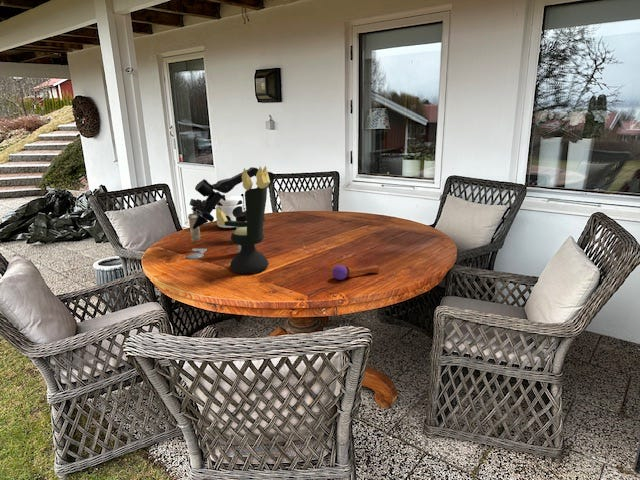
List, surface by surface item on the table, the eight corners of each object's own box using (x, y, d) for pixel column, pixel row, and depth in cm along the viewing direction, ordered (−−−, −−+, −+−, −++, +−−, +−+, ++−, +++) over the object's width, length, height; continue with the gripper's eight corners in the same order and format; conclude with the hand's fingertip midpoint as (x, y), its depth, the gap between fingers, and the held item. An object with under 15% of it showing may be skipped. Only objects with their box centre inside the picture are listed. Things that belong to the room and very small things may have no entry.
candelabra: (252, 258, 198) (245, 161, 185) (287, 267, 184) (282, 163, 172) (220, 269, 184) (210, 165, 171) (254, 280, 171) (246, 168, 158)
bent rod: (207, 250, 211) (206, 248, 211) (201, 253, 207) (201, 251, 206) (194, 249, 213) (194, 247, 213) (189, 252, 209) (188, 250, 208)
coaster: (207, 254, 205) (206, 253, 205) (197, 259, 198) (197, 258, 198) (192, 253, 207) (192, 252, 207) (183, 258, 200) (183, 257, 200)
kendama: (381, 266, 172) (337, 270, 165) (379, 279, 175) (335, 283, 167) (374, 259, 177) (331, 262, 170) (372, 271, 180) (329, 275, 172)
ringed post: (203, 238, 211) (200, 213, 208) (197, 241, 207) (194, 215, 203) (194, 238, 213) (191, 213, 209) (188, 241, 208) (185, 215, 205)
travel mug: (249, 256, 201) (246, 215, 195) (236, 255, 202) (233, 214, 197) (254, 252, 207) (251, 212, 201) (241, 251, 208) (238, 212, 202)
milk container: (212, 227, 256) (209, 197, 251) (236, 222, 268) (234, 193, 262) (226, 232, 244) (223, 201, 239) (252, 226, 255) (249, 197, 250)
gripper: (192, 189, 213) (173, 214, 210) (204, 195, 198) (183, 221, 195) (209, 203, 219) (191, 227, 217) (222, 209, 204) (202, 235, 201)
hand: (191, 227), depth 207 cm, fingers closed on ringed post, 4 cm apart
